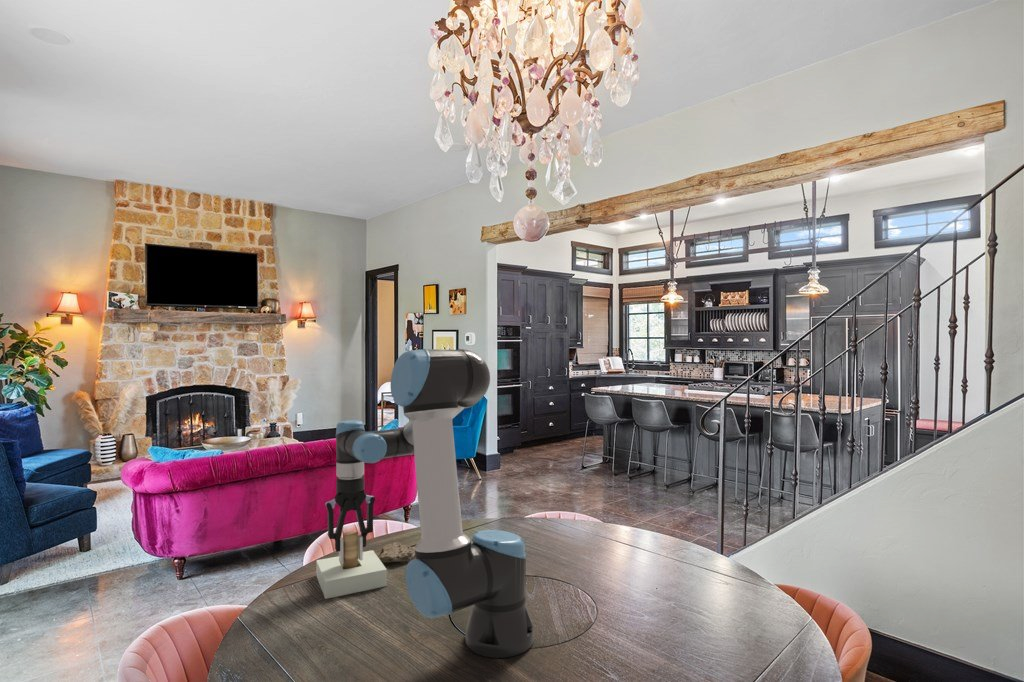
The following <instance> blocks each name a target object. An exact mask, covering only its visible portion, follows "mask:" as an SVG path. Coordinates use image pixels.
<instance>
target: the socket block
mask: <svg viewBox="0 0 1024 682" xmlns="http://www.w3.org/2000/svg"><path fill="white" fill-rule="evenodd" d="M315 569H316V570H315V571H316V578H317V581H318V585H319V586H320V588H321V592H322V594H323V597H324V600H327V599H331V598H337V597H341V596H346V595H351V594H355V593H359V592H360V593H361V592H366V591H370V590H374V589H379V588H382V587H383V588H384V587H387V586H388V580H387V579H388V573H387V572H388V570H387V568H386V566H385V565H384V562H381V561H380V559H379V558H378V555H377V554H376V553H375V551H374V549H373V550H367V551H363V560H361V561H360V560H359V558H358V567H355V568H349V569H344V570H343V564H340V562H339V555H338V556H334V557H328V558H322V559H316V568H315Z"/></svg>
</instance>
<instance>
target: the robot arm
mask: <svg viewBox="0 0 1024 682" xmlns="http://www.w3.org/2000/svg"><path fill="white" fill-rule="evenodd" d="M490 383H491V373H490V369H489V367H488V365H487V363H486V361H485V360H484V359H483V358H482V356H481V355H479V354H477V352H474V351H471V350H468V349H463V348H462V349H461V348H458V349H445V348H444V349H437V348H436V349H435V348H434V349H433V348H432V349H431V348H429V349H428V348H423V349H414V350H406V351H405V352H403V353H401V355H399V357H398V358H397V359H396V361H395V364H394V365H393V367H392V371H391V375H390V393H391V397H393V399H392V400H393V402H394V403H395V404H396V405H397V406H399V407H402V408H403V416H405V418H407V419H408V420H409V421H407V422H406V424H404V425H403V427H400V428H399V427H398V428H391V429H382V430H372V431H366V430H365V423H364V422H363V421H362V420H358V419H351V420H349V419H346V420H341V421H339V422H337V424H336V430H335V452H336V453H335V454H336V459H335V461H336V462H335V463H336V464H335V465H336V466H335V467H336V470H335V473H336V477H337V478H336V479H335V480H336V481H335V482H336V483H335V485H336V491H335V492H336V494H335V495H334V498H333V499H331V500H327V501H325V503H324V504H325V507H326V510H327V511H326V512H327V513H326V514H327V536H328V538H329V539H330V540H334V549H335V552H338V556H339V562H340V564H343V536H342V535H343V534H342V533H343V528H344V526H345V519H346V516H347V514H348V512H351V511H354V512H355V515H356V519H357V523H358V527H359V532H360V533H358V558H359V560H360V561H361V560H363V552H364V551H363V550H364V549H363V548H366V546H367V537H368V534H369V533H373V532H374V504H375V503H376V497H375V496H374V495H373V494H372V495H368V494H367V493H366V491H365V476H364V475H365V463H366V464H376V463H377V462H380V461H381V460H383V459H390V458H396V457H402V456H410V455H414V466H415V478H416V490H417V503H418V514H419V517H418V518H419V527H420V539H419V541H418V542H417V543H416V545H415V546H414V550H415V559H413V560H411V561H410V562H408V563H407V564H406V567H405V571H404V572H405V573H404V575H405V576H404V577H405V585H406V589H407V593H408V595H409V597H410V600H411V601H412V604H413V606H414V607H415V608H416V610H417V611H418V612H419V613H420V614H421V615H422V616H423V617H425V618H428V619H436V618H439V617H443V616H449V615H451V614H452V613H455V612H458V611H461V610H462V609H465V608H468V607H471V606H472V607H471V611H470V613H469V618H468V621H467V624H466V626H465V645H466V647H468V649H469V650H470V651H472V652H473V653H475V654H476V655H480V656H482V657H486V658H492V659H495V658H496V659H503V658H511V657H516V656H518V655H520V654H523V653H525V652H526V651H528V650H529V649H530V648H531V647H532V646H533V644H534V641H535V631H534V630H535V629H534V625H533V621H532V618H531V615H530V613H529V610H528V607H527V601H526V599H527V598H526V594H527V593H526V591H527V589H526V587H527V586H526V571H527V570H526V560H527V555H526V545H525V541H524V539H523V538H522V537H521V536H519V534H516V533H514V532H510V531H506V530H499V529H484V530H483V529H481V530H478V531H475V532H474V533H473V535H472V538H470V537H469V536H467V535H466V534H465V533H464V532H463V521H462V513H461V512H462V511H461V501H460V492H459V481H458V480H459V478H458V469H457V458H456V457H457V456H456V447H455V437H454V435H455V434H454V426H453V425H454V424H453V419H454V418H455V417H456V416H458V415H459V414H460V413H461V412H462V411H464V409H468V408H471V407H473V406H475V405H476V404H477V403H479V402H480V401H481V400H482V399H483V397H484V396H485V394H486V393H487V392H488V390H489V386H490ZM364 501H365V502H366V526H365V520H364V518H363V514H362V512H363V511H362V508H361V506H362V504H363V503H364ZM335 505H337V506H338V507H339V513H338V514H339V515H338V519H337V523H336V527H335V525H334V524H335V523H334V522H335V520H334V518H335V517H334V510H333V509H335ZM334 527H335V529H334ZM334 530H335V531H334Z"/></svg>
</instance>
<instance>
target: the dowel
mask: <svg viewBox="0 0 1024 682" xmlns="http://www.w3.org/2000/svg"><path fill="white" fill-rule="evenodd" d="M358 534H359V532H358V531H347V532H344V533H343V534H342V539H343V570H344V569H349V568H355V567H358Z"/></svg>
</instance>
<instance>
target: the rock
mask: <svg viewBox="0 0 1024 682" xmlns="http://www.w3.org/2000/svg"><path fill="white" fill-rule="evenodd" d="M377 557H378V558H379V559H380V561H381V562H382V563H386V564H387V563H396V562H408V563H409V562H410V561H411V560H413V559H415V548H413V547H411V546H410V545H407V544H402V543H400V542H398V541H394V542H392V543H387V544H385V545H383V546H382V548H381V551H380V553H379V555H377Z"/></svg>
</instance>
